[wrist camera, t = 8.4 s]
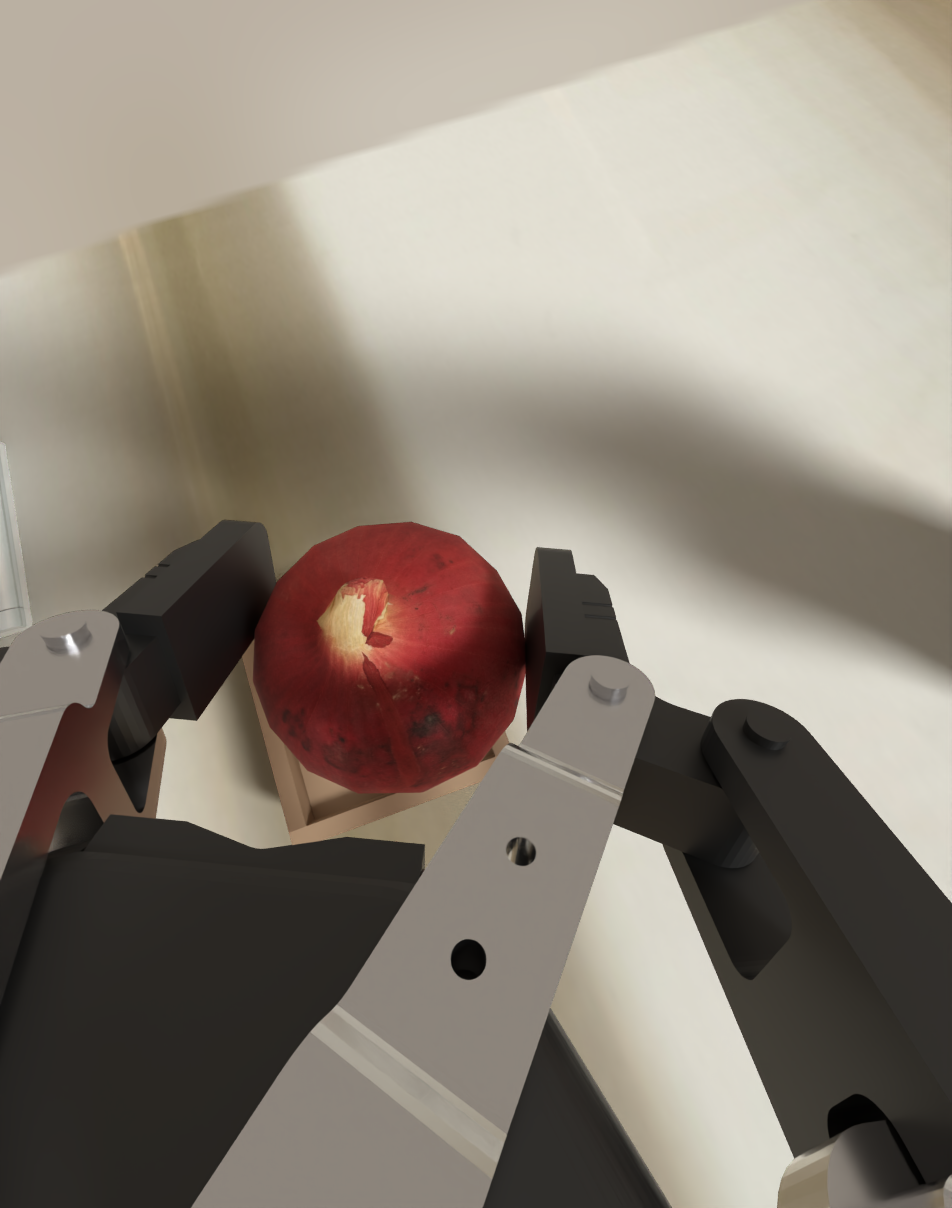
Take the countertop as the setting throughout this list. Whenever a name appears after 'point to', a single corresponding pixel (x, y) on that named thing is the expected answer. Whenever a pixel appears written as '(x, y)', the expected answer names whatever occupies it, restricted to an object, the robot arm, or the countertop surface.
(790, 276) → the countertop surface
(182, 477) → the countertop surface
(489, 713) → the onion
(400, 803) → the wooden tray
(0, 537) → the hard drive
